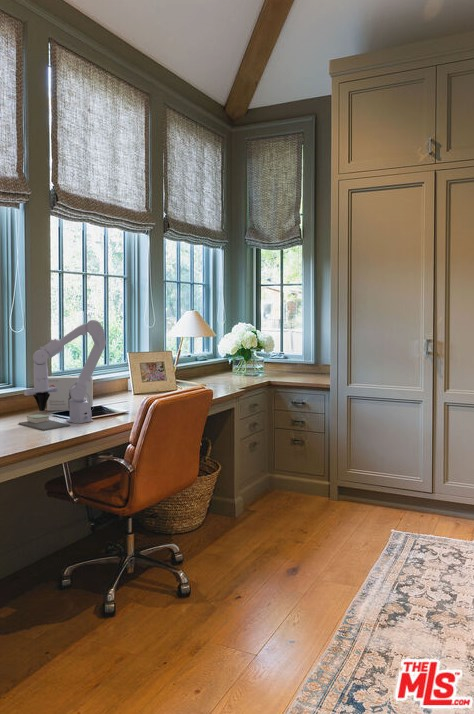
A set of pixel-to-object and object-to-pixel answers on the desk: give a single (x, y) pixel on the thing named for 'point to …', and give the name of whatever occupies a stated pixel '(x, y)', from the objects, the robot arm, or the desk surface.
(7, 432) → the desk surface
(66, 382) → the skincare box
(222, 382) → the desk surface
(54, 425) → the mat
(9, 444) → the desk surface
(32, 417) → the tile
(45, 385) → the robot arm
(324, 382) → the desk surface
